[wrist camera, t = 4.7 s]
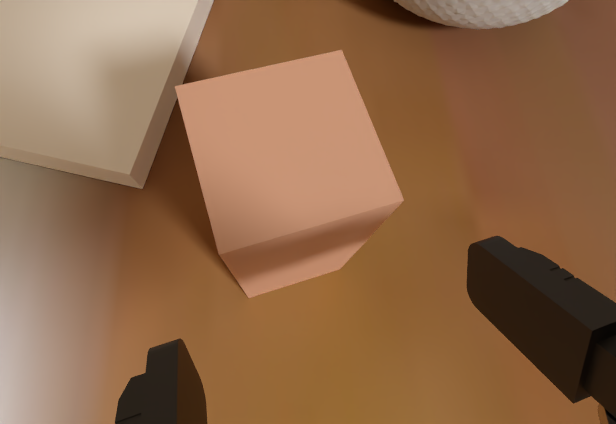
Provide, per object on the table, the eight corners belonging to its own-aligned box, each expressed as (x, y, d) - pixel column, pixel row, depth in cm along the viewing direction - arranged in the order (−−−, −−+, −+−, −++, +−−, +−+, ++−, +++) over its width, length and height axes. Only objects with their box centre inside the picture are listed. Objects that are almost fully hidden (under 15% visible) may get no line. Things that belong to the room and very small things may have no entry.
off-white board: (-24, -106, 27) (-47, -140, 25) (231, -47, 27) (227, -76, 25) (-182, 115, 21) (-227, 94, 19) (142, 189, 21) (129, 174, 19)
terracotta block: (224, 209, 21) (174, 86, 11) (310, 185, 22) (341, 50, 12) (248, 297, 20) (218, 254, 10) (339, 269, 21) (403, 200, 10)
